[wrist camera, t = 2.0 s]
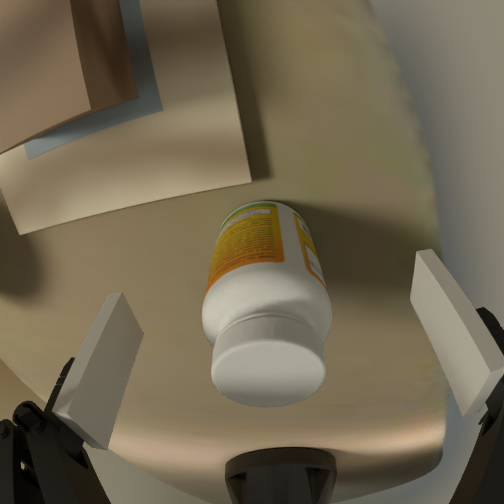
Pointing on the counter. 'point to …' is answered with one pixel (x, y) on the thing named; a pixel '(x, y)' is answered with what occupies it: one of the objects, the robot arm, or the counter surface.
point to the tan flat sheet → (140, 127)
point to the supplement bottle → (266, 308)
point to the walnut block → (59, 65)
